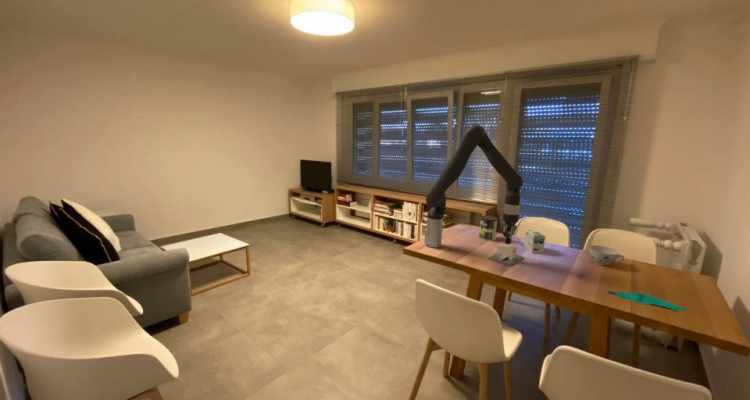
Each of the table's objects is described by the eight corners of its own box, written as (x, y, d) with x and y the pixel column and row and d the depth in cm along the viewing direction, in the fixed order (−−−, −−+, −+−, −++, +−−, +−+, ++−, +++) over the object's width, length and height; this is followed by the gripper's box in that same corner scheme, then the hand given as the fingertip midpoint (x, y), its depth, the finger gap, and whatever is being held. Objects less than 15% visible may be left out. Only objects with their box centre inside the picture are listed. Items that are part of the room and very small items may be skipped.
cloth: (690, 308, 125) (691, 302, 124) (689, 321, 115) (691, 316, 115) (610, 285, 143) (611, 280, 142) (604, 295, 133) (605, 290, 133)
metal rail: (497, 259, 165) (497, 257, 165) (509, 253, 174) (509, 251, 174) (502, 261, 163) (502, 259, 163) (514, 254, 172) (514, 252, 172)
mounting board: (488, 259, 168) (488, 257, 168) (502, 252, 179) (502, 250, 178) (510, 266, 159) (510, 264, 159) (523, 258, 170) (523, 256, 170)
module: (497, 255, 170) (498, 245, 169) (500, 253, 173) (502, 243, 172) (511, 260, 164) (513, 249, 163) (515, 258, 167) (516, 247, 166)
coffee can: (485, 241, 196) (487, 220, 193) (475, 236, 205) (477, 215, 203) (499, 240, 199) (501, 219, 196) (488, 235, 209) (490, 215, 206)
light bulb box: (543, 253, 178) (546, 235, 176) (531, 253, 178) (534, 235, 176) (534, 247, 188) (536, 229, 186) (523, 246, 189) (525, 229, 186)
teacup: (585, 263, 165) (588, 249, 163) (588, 257, 174) (591, 243, 172) (621, 272, 155) (624, 257, 154) (622, 264, 165) (625, 250, 163)
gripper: (509, 209, 171) (506, 239, 174) (498, 213, 162) (495, 244, 166) (523, 211, 165) (520, 243, 169) (512, 215, 157) (508, 248, 160)
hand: (507, 243), depth 167 cm, fingers closed
